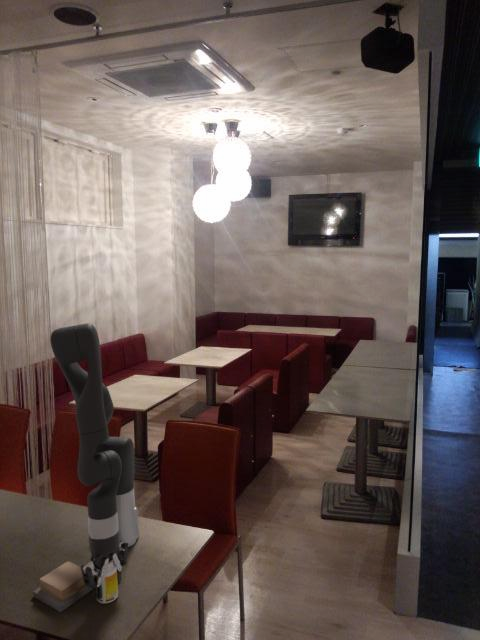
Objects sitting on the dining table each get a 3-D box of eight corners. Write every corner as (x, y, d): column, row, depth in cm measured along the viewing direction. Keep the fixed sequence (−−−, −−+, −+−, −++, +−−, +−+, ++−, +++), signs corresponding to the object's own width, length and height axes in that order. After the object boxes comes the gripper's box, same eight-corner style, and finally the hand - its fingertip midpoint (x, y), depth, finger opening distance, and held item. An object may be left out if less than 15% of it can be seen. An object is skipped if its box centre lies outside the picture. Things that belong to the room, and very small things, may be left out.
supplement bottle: (121, 590, 134) (119, 554, 133) (114, 605, 129) (111, 568, 127) (101, 589, 135) (98, 553, 134) (92, 604, 130) (90, 566, 128)
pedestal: (71, 571, 143) (70, 556, 142) (98, 585, 137) (97, 569, 136) (33, 596, 133) (32, 580, 132) (60, 612, 127) (59, 595, 126)
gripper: (114, 513, 137) (118, 570, 139) (70, 538, 125) (75, 601, 128) (134, 520, 133) (138, 580, 135) (91, 548, 121) (95, 612, 124)
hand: (107, 590), depth 131 cm, fingers closed on supplement bottle, 5 cm apart
